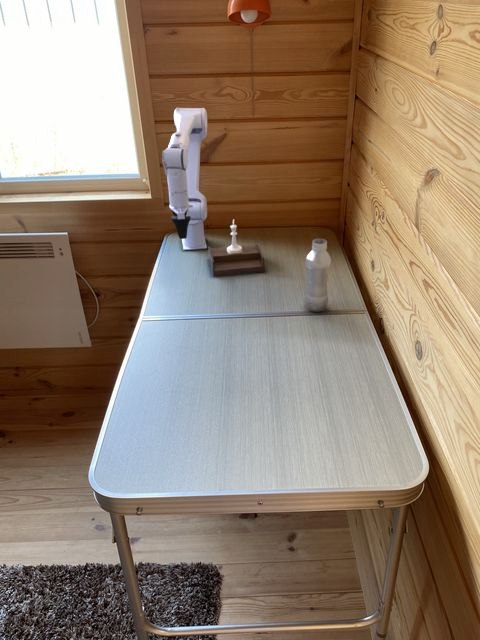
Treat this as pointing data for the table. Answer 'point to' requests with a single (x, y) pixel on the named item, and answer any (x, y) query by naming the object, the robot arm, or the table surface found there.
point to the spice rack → (236, 261)
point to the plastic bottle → (317, 276)
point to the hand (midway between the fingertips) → (182, 233)
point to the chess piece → (234, 241)
